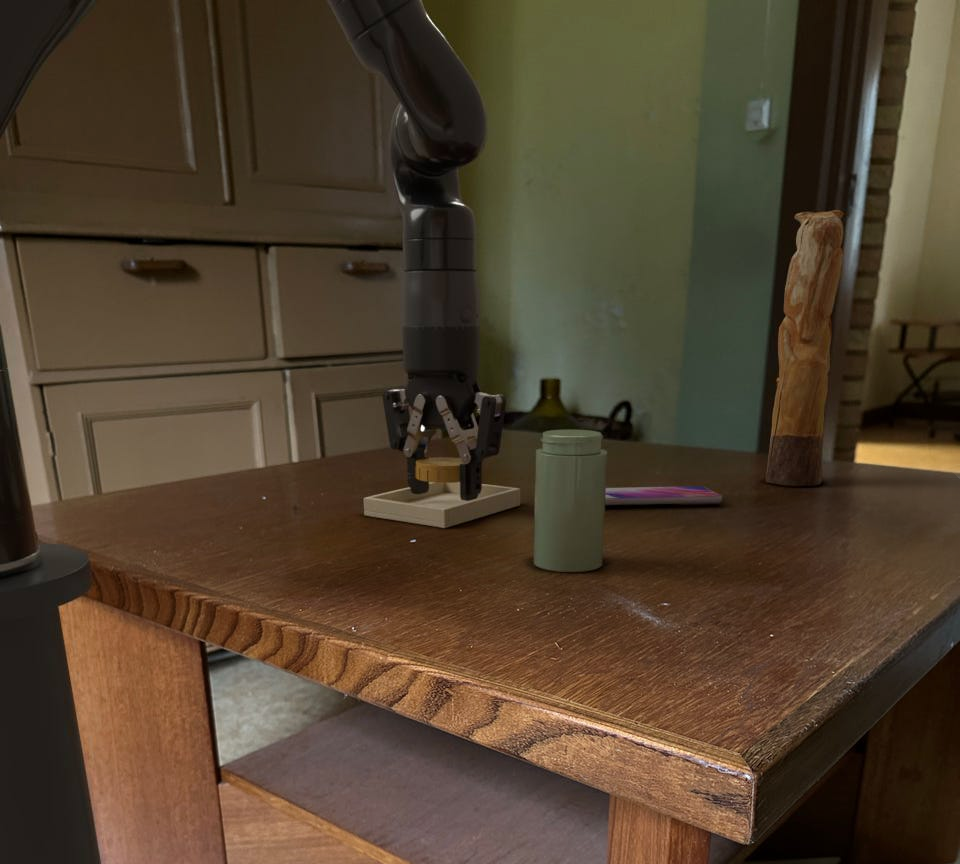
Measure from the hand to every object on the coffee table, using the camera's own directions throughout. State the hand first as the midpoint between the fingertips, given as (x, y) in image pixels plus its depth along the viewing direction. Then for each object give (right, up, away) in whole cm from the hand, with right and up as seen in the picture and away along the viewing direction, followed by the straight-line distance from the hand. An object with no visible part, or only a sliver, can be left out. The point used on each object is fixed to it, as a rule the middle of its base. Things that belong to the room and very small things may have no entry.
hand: (444, 495), depth 93 cm
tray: (0, -1, 0) cm, 2 cm away
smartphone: (+21, 0, +5) cm, 22 cm away
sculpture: (+41, +4, +17) cm, 45 cm away
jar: (+11, -9, -19) cm, 24 cm away
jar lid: (0, +3, -1) cm, 3 cm away
